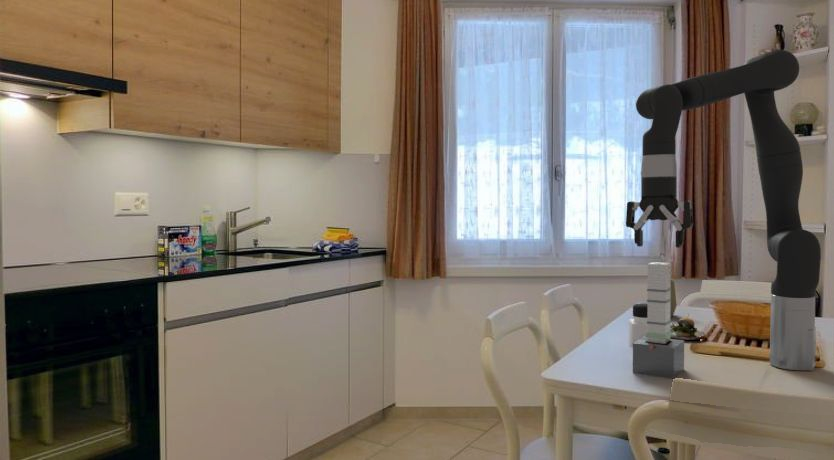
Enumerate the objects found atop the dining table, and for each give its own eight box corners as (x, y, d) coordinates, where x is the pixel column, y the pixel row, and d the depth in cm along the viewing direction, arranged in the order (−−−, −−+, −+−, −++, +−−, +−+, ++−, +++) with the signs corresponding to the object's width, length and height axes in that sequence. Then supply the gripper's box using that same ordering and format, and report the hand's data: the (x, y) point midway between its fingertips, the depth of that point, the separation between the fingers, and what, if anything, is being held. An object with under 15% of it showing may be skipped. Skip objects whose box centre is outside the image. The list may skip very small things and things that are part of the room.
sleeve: (703, 373, 150) (703, 339, 150) (686, 390, 137) (686, 353, 137) (634, 363, 160) (634, 331, 159) (612, 378, 147) (612, 344, 146)
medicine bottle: (660, 351, 172) (660, 306, 171) (632, 350, 173) (632, 305, 173) (655, 344, 179) (656, 302, 178) (629, 344, 180) (629, 301, 180)
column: (671, 340, 149) (671, 262, 148) (665, 344, 145) (666, 264, 144) (651, 338, 151) (652, 261, 150) (646, 341, 148) (646, 263, 147)
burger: (653, 336, 191) (653, 311, 191) (686, 332, 195) (686, 308, 194) (681, 344, 180) (682, 318, 179) (715, 341, 183) (716, 315, 183)
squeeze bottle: (646, 314, 223) (646, 262, 222) (665, 312, 225) (666, 261, 224) (661, 318, 215) (662, 265, 214) (681, 316, 218) (682, 263, 217)
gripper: (696, 174, 145) (695, 246, 146) (632, 176, 153) (632, 244, 154) (687, 174, 139) (687, 249, 140) (622, 176, 147) (622, 247, 148)
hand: (658, 246), depth 147 cm, fingers open, 8 cm apart
